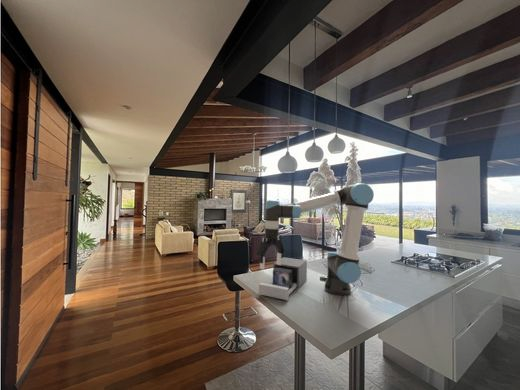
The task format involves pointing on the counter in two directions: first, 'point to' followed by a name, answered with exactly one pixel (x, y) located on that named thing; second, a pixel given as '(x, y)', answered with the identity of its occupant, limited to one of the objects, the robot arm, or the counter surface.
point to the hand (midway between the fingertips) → (270, 266)
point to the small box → (282, 277)
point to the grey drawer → (276, 290)
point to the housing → (294, 269)
